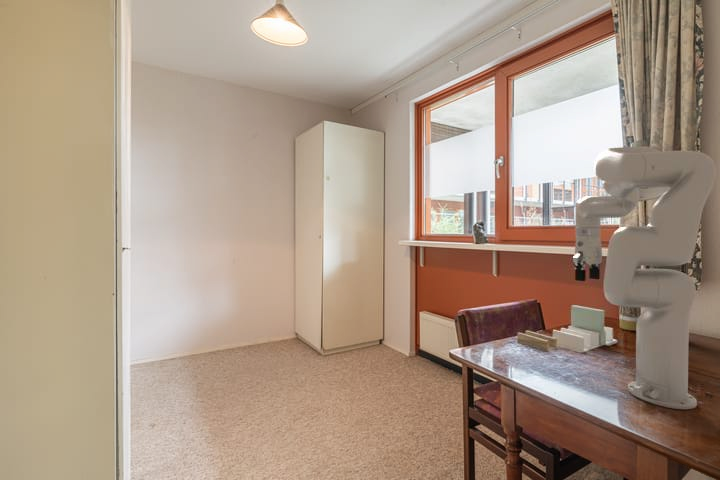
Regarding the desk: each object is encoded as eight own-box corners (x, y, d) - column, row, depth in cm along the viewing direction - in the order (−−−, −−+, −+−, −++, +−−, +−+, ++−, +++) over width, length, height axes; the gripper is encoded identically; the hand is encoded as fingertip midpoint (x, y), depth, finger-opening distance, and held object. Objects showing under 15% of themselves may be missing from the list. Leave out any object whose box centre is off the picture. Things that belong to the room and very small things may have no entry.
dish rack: (580, 355, 109) (581, 339, 109) (548, 345, 119) (548, 330, 118) (617, 342, 121) (617, 327, 121) (584, 334, 131) (584, 321, 131)
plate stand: (547, 353, 111) (547, 342, 111) (515, 343, 121) (515, 332, 121) (559, 350, 114) (559, 338, 114) (526, 340, 125) (526, 329, 125)
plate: (600, 345, 116) (601, 311, 116) (570, 337, 125) (571, 305, 125) (604, 343, 117) (604, 310, 117) (574, 336, 126) (574, 305, 126)
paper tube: (641, 329, 139) (641, 269, 138) (640, 332, 134) (640, 271, 133) (620, 325, 143) (621, 268, 143) (618, 329, 138) (619, 269, 138)
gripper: (586, 232, 113) (586, 282, 113) (611, 232, 121) (611, 279, 122) (563, 233, 119) (563, 280, 120) (588, 233, 128) (588, 277, 128)
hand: (587, 279), depth 121 cm, fingers open, 9 cm apart
